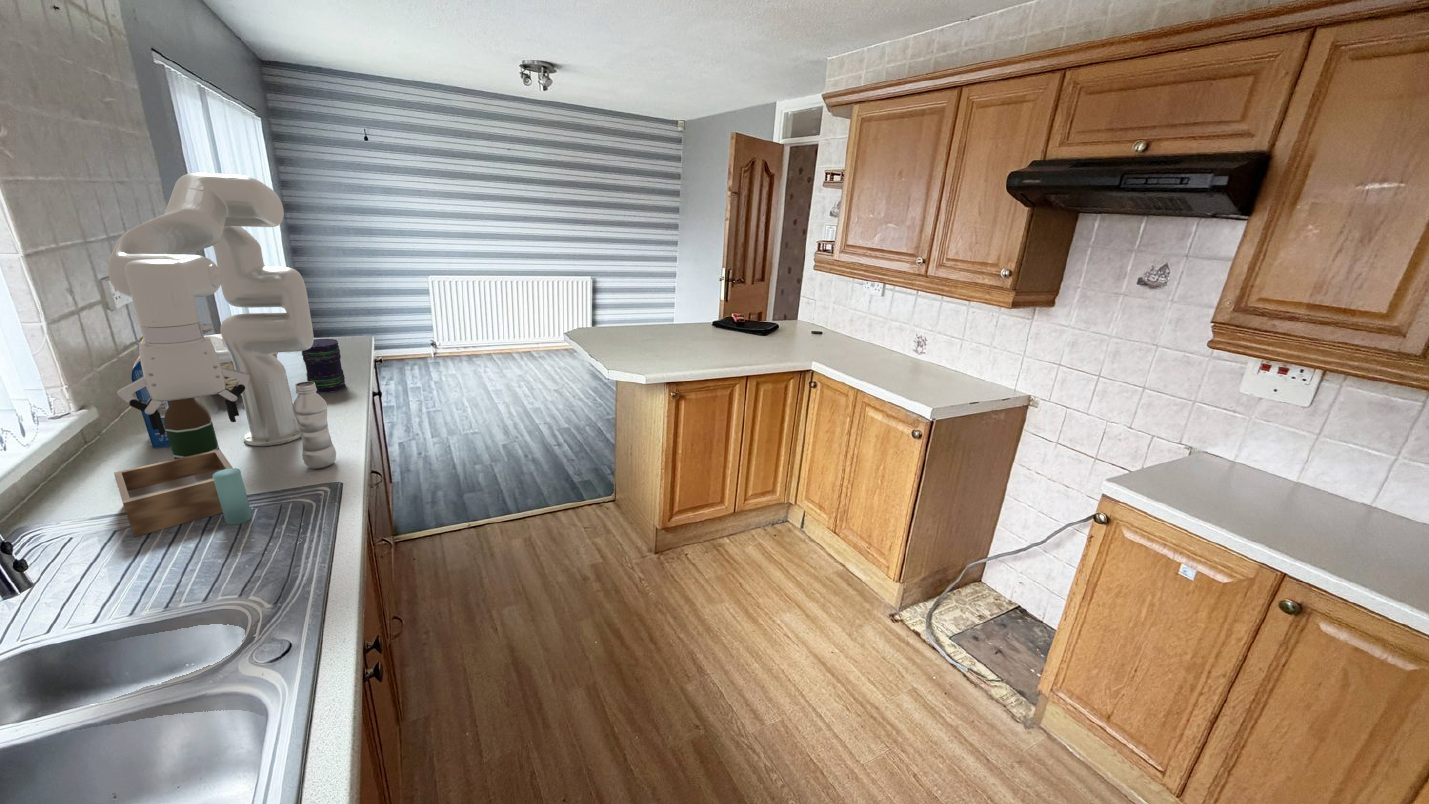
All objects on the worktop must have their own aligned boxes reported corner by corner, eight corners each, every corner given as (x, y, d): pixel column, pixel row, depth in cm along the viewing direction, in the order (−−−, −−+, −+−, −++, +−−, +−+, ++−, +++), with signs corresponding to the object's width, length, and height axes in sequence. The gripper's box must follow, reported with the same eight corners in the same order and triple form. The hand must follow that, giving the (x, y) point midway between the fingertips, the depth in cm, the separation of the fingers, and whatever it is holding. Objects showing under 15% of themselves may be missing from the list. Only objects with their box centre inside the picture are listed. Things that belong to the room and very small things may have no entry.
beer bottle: (186, 480, 121) (154, 374, 113) (172, 470, 125) (141, 366, 117) (230, 467, 127) (203, 366, 119) (216, 458, 131) (189, 359, 123)
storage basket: (287, 390, 176) (277, 344, 171) (220, 400, 165) (207, 352, 160) (271, 371, 191) (262, 329, 186) (209, 380, 180) (197, 335, 175)
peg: (249, 511, 111) (237, 466, 108) (254, 519, 109) (242, 473, 106) (223, 519, 109) (210, 472, 105) (228, 527, 106) (215, 480, 103)
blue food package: (189, 427, 146) (162, 333, 138) (187, 443, 138) (158, 344, 129) (156, 432, 142) (126, 336, 134) (152, 449, 134) (120, 347, 125)
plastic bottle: (302, 474, 127) (284, 390, 120) (306, 461, 132) (289, 380, 125) (336, 469, 129) (320, 387, 123) (339, 457, 135) (324, 378, 128)
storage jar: (312, 384, 181) (303, 339, 176) (348, 382, 185) (340, 338, 180) (306, 394, 173) (296, 347, 168) (343, 391, 177) (335, 345, 172)
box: (227, 478, 123) (220, 449, 121) (245, 505, 113) (237, 474, 111) (124, 504, 111) (113, 472, 109) (134, 537, 102) (122, 503, 99)
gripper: (234, 324, 105) (254, 410, 110) (100, 335, 93) (130, 431, 99) (241, 331, 100) (262, 421, 106) (100, 344, 88) (132, 444, 94)
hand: (198, 426), depth 102 cm, fingers open, 9 cm apart
